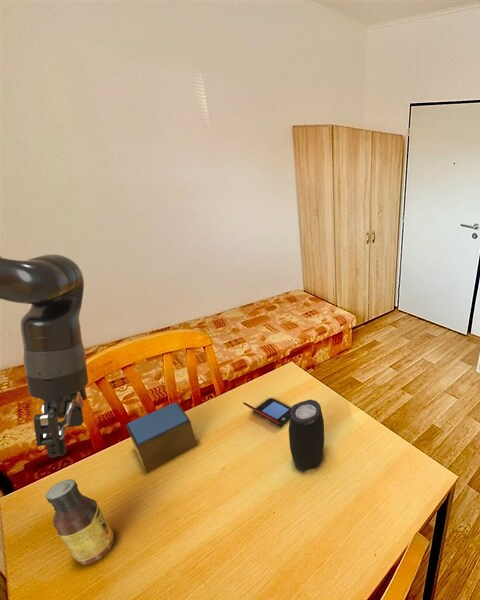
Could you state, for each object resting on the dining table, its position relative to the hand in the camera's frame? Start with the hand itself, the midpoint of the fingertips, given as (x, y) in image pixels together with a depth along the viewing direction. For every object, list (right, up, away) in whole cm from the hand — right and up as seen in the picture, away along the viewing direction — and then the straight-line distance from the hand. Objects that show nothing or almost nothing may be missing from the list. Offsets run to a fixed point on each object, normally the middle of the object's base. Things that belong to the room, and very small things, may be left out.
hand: (67, 439), depth 62 cm
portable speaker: (+39, -19, +30) cm, 52 cm away
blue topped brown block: (-2, -15, +29) cm, 33 cm away
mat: (-1, -6, +25) cm, 26 cm away
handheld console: (+23, -11, +43) cm, 50 cm away
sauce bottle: (0, -26, +6) cm, 27 cm away
